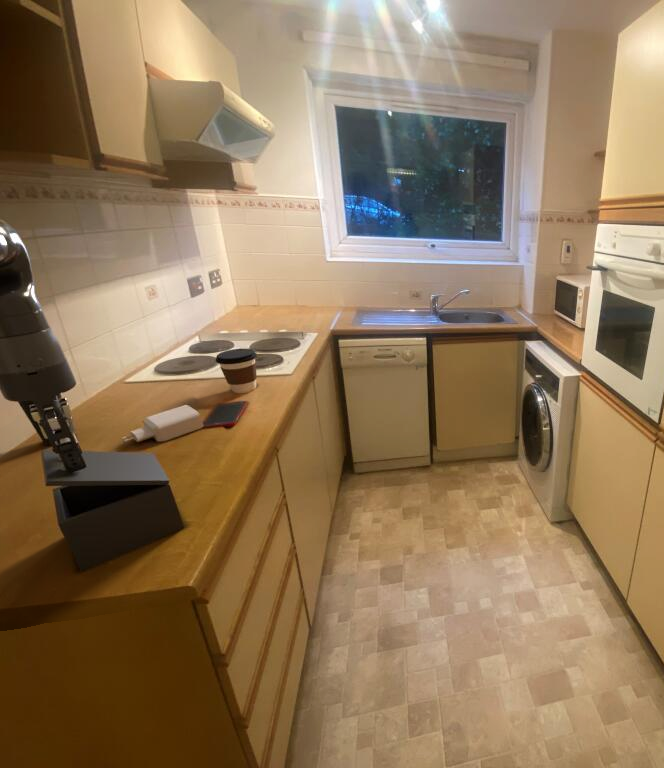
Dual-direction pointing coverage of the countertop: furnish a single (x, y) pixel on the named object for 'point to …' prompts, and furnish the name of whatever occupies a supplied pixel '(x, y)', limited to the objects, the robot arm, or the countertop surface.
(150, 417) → the charger
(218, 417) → the cell phone
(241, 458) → the countertop surface
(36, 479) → the countertop surface
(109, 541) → the open grey storage box
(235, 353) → the coffee cup
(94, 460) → the lid
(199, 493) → the countertop surface
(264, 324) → the countertop surface
